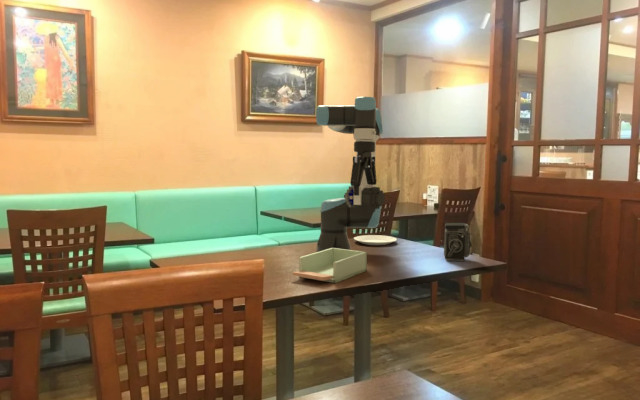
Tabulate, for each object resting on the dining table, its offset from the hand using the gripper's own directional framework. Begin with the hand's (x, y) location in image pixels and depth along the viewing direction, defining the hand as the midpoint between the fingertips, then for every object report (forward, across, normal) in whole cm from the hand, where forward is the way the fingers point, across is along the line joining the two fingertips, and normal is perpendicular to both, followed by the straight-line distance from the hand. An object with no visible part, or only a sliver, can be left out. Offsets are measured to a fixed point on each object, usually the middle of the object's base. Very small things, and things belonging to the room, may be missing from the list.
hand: (363, 203), depth 183 cm
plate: (+26, +59, +22) cm, 68 cm away
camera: (+26, +41, -23) cm, 54 cm away
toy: (+3, 0, 0) cm, 3 cm away
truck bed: (+25, -7, +8) cm, 28 cm away
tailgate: (+24, -18, +8) cm, 31 cm away
